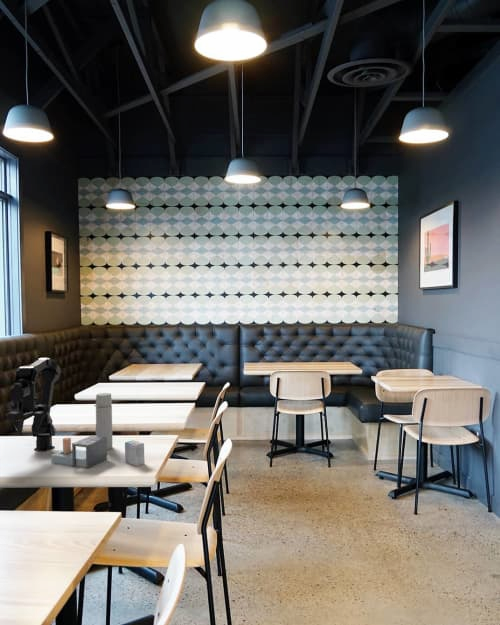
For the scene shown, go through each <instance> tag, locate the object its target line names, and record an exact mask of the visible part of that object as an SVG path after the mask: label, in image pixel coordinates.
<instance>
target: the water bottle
mask: <svg viewBox="0 0 500 625" xmlns="http://www.w3.org/2000/svg"><path fill="white" fill-rule="evenodd" d="M95 396H96V397H95V405H94V407H95V436H98V437H107V451H108V450H110V449H112V448H113V408H112V407H113V405H112V404H113V399H112V393H111V392H99V393H97V394H96V395H95Z"/></svg>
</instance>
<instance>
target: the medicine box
mask: <svg viewBox="0 0 500 625" xmlns="http://www.w3.org/2000/svg"><path fill="white" fill-rule="evenodd" d="M124 458H125V463H126V464H129V465H133V466H135V467H138V466H142V465H144V464H145V444H144V443H143V442H140V441H137V440H134V439H133V440H128V441H126V442H124Z"/></svg>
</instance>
